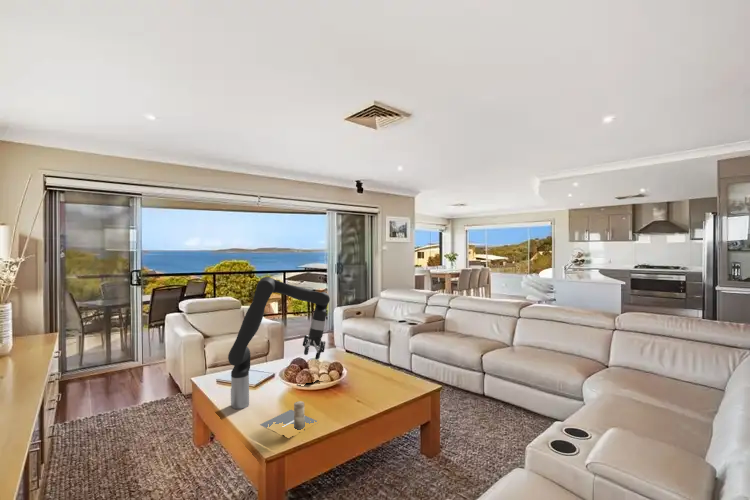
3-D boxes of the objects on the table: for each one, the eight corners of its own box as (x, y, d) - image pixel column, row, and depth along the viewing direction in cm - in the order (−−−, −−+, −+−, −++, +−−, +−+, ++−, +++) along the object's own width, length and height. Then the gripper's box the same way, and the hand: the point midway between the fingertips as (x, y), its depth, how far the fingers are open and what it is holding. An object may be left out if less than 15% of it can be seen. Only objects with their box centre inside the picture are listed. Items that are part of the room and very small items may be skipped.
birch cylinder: (292, 427, 184) (291, 404, 183) (299, 423, 188) (299, 400, 187) (298, 431, 181) (298, 406, 180) (306, 426, 185) (306, 403, 184)
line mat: (259, 425, 187) (259, 424, 187) (290, 410, 203) (290, 409, 203) (288, 440, 174) (288, 438, 174) (319, 422, 190) (319, 421, 190)
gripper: (303, 324, 208) (297, 353, 207) (322, 331, 200) (316, 361, 199) (312, 324, 214) (306, 352, 213) (331, 331, 206) (325, 360, 205)
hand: (311, 357), depth 206 cm, fingers open, 8 cm apart
